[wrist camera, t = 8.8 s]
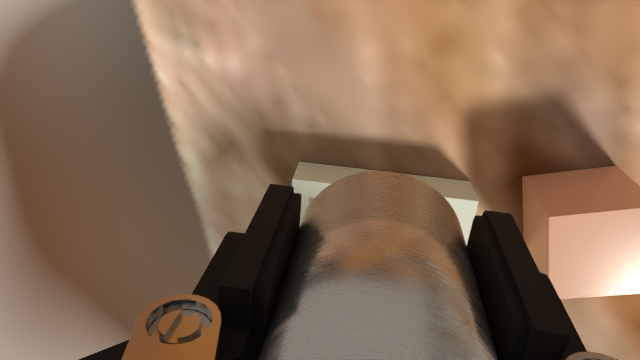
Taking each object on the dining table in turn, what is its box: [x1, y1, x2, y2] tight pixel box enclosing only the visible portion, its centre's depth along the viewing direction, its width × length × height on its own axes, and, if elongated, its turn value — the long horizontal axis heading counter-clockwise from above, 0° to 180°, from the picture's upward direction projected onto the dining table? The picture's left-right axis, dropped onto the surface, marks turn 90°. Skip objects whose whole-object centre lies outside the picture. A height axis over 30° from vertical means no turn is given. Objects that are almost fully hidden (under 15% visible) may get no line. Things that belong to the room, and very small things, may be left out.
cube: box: [522, 166, 640, 299], centre depth 26 cm, size 5×5×5 cm
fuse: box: [258, 171, 498, 360], centre depth 9 cm, size 4×4×6 cm
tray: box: [292, 162, 478, 246], centre depth 30 cm, size 10×10×3 cm
